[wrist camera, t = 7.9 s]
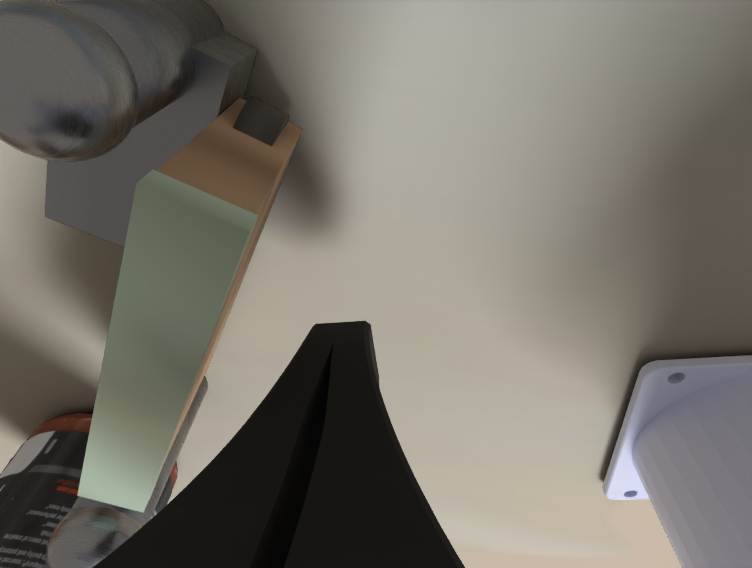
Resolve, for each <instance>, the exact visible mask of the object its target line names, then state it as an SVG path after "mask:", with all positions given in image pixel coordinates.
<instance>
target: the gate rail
mask: <svg viewBox="0 0 752 568" xmlns="http://www.w3.org/2000/svg"><path fill="white" fill-rule="evenodd" d="M288 119H289V115H288V114H286V113H284V112H282V111H280V110H278V109H276V108H274V107H272V106H270V105H268V104H266V103H264V102H262V101H260V100H258V99H256V98H254V97H250V98H249V99H248V100H247V101H246V100H244V99H242V98H239V99H238V100H236V101H235V102H234V103H233V104H232V105H231V106H230V107H228V108H227V109H226V110H225V111H224V112H223V113H222V114H220V115H219V116H218V117H217V118H216V119H215V120H214V121H213V122H211V123H210V124H209V125H208V126H207V127H206V128H205V129H203V130H202V131H201V132H200V133H199V134H198V135H197V136H195V137H194V138H193V139H192V140H191V141H190V142H189V143H187V144H186V145H185V146H184V147H183V148H182V149H181V150H179V151H178V152H177V153H176V154H175V155H174V156H173V157H171V158H170V159H169V160H168V161H167V162H166V163H165V164H164V165H162V166H161V167H160V168H159V169H158V170H157V171H155V170H151V171H150V172H149V173H148V174H147V175H146V176H144V177H143V178H142V179H141V180H140V181H139V182H137V183H136V189H135V194H134V199H133V204H132V210H131V215H130V220H129V226H128V231H127V236H126V241H125V247H124V252H123V257H122V263H121V268H120V273H119V278H118V284H117V289H116V294H115V299H114V305H113V310H112V315H111V321H110V326H109V331H108V336H107V342H106V347H105V352H104V358H103V363H102V368H101V373H100V379H99V384H98V389H97V394H96V400H95V405H94V410H93V416H92V421H91V426H90V431H89V437H88V442H87V447H86V453H85V458H84V463H83V468H82V474H81V479H80V484H79V490H78V495H77V496H80V497H84V498H88V499H92V500H96V501H100V502H104V503H108V504H111V505H115V506H119V507H123V508H127V509H131V510H135V511H139V512H144V510H145V508H146V506H147V504H148V501H149V499H150V497H151V495H152V492H153V490H154V487H155V485H156V482H157V479H158V477H159V474H160V471H161V469H162V466H163V464H164V462H165V460H166V458H167V455H168V453H169V451H170V449H171V447H172V445H173V442H174V440H175V438H176V436H177V434H178V432H179V429H180V427H181V425H182V423H183V421H184V419H185V416H186V414H187V412H188V410H189V408H190V406H191V403H192V401H193V399H194V397H195V395H196V393H197V390H198V388H199V386H200V384H201V382H202V380H203V377H204V375H205V373H206V371H207V368H208V366H209V363H210V361H211V358H212V356H213V353H214V351H215V348H216V346H217V343H218V341H219V338H220V335H221V333H222V330H223V328H224V325H225V323H226V320H227V318H228V315H229V313H230V310H231V308H232V305H233V303H234V300H235V298H236V295H237V293H238V290H239V288H240V285H241V283H242V280H243V278H244V275H245V272H246V270H247V267H248V265H249V262H250V260H251V257H252V255H253V252H254V250H255V247H256V245H257V242H258V240H259V237H260V235H261V232H262V230H263V227H264V225H265V222H266V220H267V217H268V214H269V212H270V209H271V207H272V204H273V202H274V199H275V197H276V194H277V192H278V189H279V187H280V184H281V182H282V179H283V177H284V174H285V172H286V169H287V167H288V164H289V162H290V159H291V157H292V154H293V151H294V149H295V146H296V144H297V141H298V139H299V136H300V134H301V131H302V128H300V127H298V126H296V125H294V124H292V123H290V122H288Z"/></svg>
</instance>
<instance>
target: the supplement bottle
mask: <svg viewBox="0 0 752 568" xmlns="http://www.w3.org/2000/svg"><path fill="white" fill-rule="evenodd" d="M92 416H93V414H70V415H63V416H60V417H56V418H53V419H50V420H48V421H46V422H45V423H43V424H42V425H40V426H39V427H38V428H37V429H36V430H35V431H34V432H33V433H32V435H31V436H30V437H29V438H28V439H27V441H26V442H25V443H24V444H22V446H21V447H20V449H19V450H18V451H17V453H16V454H15V455H14V457H13V458H12V459H11V460H10V461H9V463H8V465H7V466H6V467H5V469H4V470H3V472H2V473H1V474H0V568H47V566H46V549H47V545H48V542H49V539H50V537H51V535H52V533H53V531H54V529H55V528H56V526H57V525H58V523H59V522H60V521H61V520H62V519H63V517H64V516H66V515H67V514H68V513H69V512H70V510H71V508H72V507H73V505H74V503H75V502H76V500H77V498H78V497H79V496H77V495H78V490H79V484H80V479H81V474H82V468H83V463H84V458H85V453H86V447H87V442H88V437H89V431H90V426H91V421H92ZM177 472H178V469H177V462H175V464H174V466H173V468H172V471H171V473H170V475H169V478H168V480H167V482H166V484H165V487H164V489H163V491H162V494H161V496H160V498H159V500H158V503H157V505H156V507H155V509H154V512H153V514H152V516H151V519H152V518H153V517H154V516H155V515H156V514H157V513H158V512H160V511H161V510H162V509H163V508H164V507H165V506H166V505H167V503H168V500H169V498H170V496H171V493H172V489H173V487H174V484H175V482H176V479H177Z"/></svg>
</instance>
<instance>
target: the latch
mask: <svg viewBox="0 0 752 568" xmlns="http://www.w3.org/2000/svg"><path fill="white" fill-rule="evenodd" d="M257 51H258V49H257V48H255V47H253V46H251V45H249V44H247V43H245V42H243V41H241V40H239V39H237V38H235V37H233V36H232V35H230V34H228V33H226V32H224V28H223V26H222V23H221V21H220V20H219V18H218V16H217V14H216V13H215V11H214V10H213V9H212V8H211V7H210V6H209V5H208V4H207V3H206V2H205V1H204V0H56V3H55V2H52V1H48V0H2V1H0V139H1V140H2V141H4V142H5V143H7V144H8V145H10V146H12V147H14V148H15V149H17V150H20V151H22V152H24V153H27V154H29V155H32V156H35V157H38V158H41V159H45V160H48V164H47V183H46V201H45V217H47V218H50V219H52V220H55V221H57V222H60V223H63V224H65V225H68V226H70V227H73V228H76V229H78V230H81V231H83V232H86V233H89V234H91V235H94V236H96V237H99V238H101V239H104V240H107V241H109V242H112V243H114V244H117V245H120V246H122V247H125V241H126V236H127V231H128V226H129V220H130V215H131V210H132V204H133V199H134V194H135V189H136V183H137V182H139V181H140V180H141V179H142V178H143V177H144V176H146V175H147V174H148V173H149V172H150V171H151V170H155V171H157V170H158V169H159V168H160V167H161V166H162V165H164V164H165V163H166V162H167V161H168V160H169V159H170V158H171V157H173V156H174V155H175V154H176V153H177V152H178V151H179V150H181V149H182V148H183V147H184V146H185V145H186V144H187V143H189V142H190V141H191V140H192V139H193V138H194V137H195V136H197V135H198V134H199V133H200V132H201V131H202V130H203V129H205V128H206V127H207V126H208V125H209V124H210V123H211V122H213V121H214V120H215V119H216V118H217V117H218V116H219V115H220V114H222V113H223V112H224V111H225V110H226V109H227V108H228V107H230V106H231V105H232V104H233V103H234V102H235V101H236V100H238V99H239V98H242V99H243V97H244V94H245V91H246V87H247V84H248V81H249V77H250V74H251V71H252V67H253V64H254V61H255V57H256V54H257Z"/></svg>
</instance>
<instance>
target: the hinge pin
mask: <svg viewBox="0 0 752 568" xmlns="http://www.w3.org/2000/svg"><path fill="white" fill-rule="evenodd" d="M207 388H208V384H207V381H206V379H205V377H203V380H202V382H201V384H200V386H199V388H198V390H197V393H196V395H195V397H194V399H193V401H192V403H191V406H190V408H189V410H188V412H187V414H186V416H185V419H184V421H183V423H182V425H181V427H180V429H179V432H178V434H177V436H176V438H175V440H174V442H173V445H172V447H171V449H170V451H169V453H168V455H167V458H166V460H165V462H164V464H163V466H162V469H161V471H160V474H159V477H158V479H157V482H156V485H155V487H154V490H153V492H152V495H151V497H150V499H149V501H148V504H147V506H146V508H145V510H144V512H139V511H135V510H131V509H127V508H123V507H119V506H115V505H111V504H108V503H104V502H100V501H96V500H92V499H88V498H84V497H80V496H79V497H78V498H77V500H76V502H75V503H74V505H73V507H72V508H71V510H70V512H69V513H68V514H67V515H66V516H64V517H63V519H62V520H61V521H60V522H59V523H58V525H57V526H56V528H55V529H54V531H53V533H52V535H51V537H50V539H49V542H48V545H47V549H46V566H47V568H92V567H94V566H95V565H96V564H98V563H99V562H100V561H102V560H103V559H104V558H105V557H107V556H108V555H109V554H110V553H112V552H113V551H114V550H115V549H117V548H118V547H119V546H120V545H121V544H123V543H124V542H125V541H126V540H127V539H129V538H130V537H131V536H132V535H133V534H134V533H136V532H137V531H138V530H139V529H140V528H141V527H142V526H144V525H145V524H146V523H147V522H148V521H149V520H150V519H151V516H152V514H153V512H154V509H155V507H156V505H157V503H158V500H159V498H160V496H161V494H162V491H163V489H164V487H165V484H166V482H167V480H168V478H169V475H170V473H171V471H172V468H173V466H174V464H175V462H176V459H177V457H178V455H179V453H180V450H181V448H182V446H183V443H184V441H185V439H186V437H187V434H188V432H189V430H190V428H191V425H192V423H193V421H194V418H195V416H196V414H197V412H198V409H199V407H200V405H201V403H202V400H203V398H204V396H205V393H206V391H207Z"/></svg>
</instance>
